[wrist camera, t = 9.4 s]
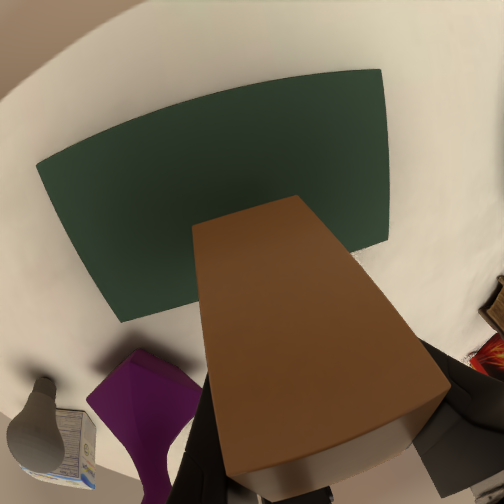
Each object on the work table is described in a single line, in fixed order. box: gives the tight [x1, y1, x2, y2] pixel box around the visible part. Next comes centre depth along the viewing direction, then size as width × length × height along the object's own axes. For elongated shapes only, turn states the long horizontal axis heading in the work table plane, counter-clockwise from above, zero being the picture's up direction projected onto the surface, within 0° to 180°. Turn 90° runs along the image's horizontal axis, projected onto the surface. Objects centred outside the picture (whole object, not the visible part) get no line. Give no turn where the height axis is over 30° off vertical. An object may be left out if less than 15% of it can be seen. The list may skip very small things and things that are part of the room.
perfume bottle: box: [86, 348, 202, 504], centre depth 15 cm, size 8×8×18 cm
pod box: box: [192, 195, 451, 502], centre depth 9 cm, size 4×5×10 cm
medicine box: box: [19, 409, 96, 490], centre depth 22 cm, size 8×4×9 cm, turn 85°
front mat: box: [36, 69, 390, 323], centre depth 16 cm, size 20×12×1 cm, turn 103°
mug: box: [470, 333, 504, 382], centre depth 38 cm, size 10×14×12 cm
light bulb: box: [7, 378, 65, 474], centre depth 17 cm, size 6×6×10 cm
